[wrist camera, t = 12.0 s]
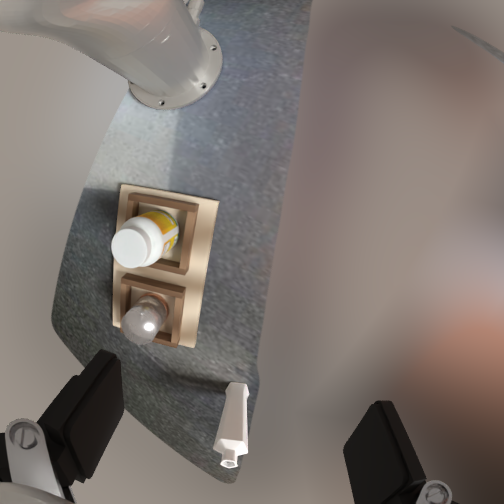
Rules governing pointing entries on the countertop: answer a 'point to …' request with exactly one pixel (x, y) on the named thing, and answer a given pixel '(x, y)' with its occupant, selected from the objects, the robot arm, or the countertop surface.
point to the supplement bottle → (145, 239)
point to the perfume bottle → (233, 425)
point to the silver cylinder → (145, 318)
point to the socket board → (168, 262)
